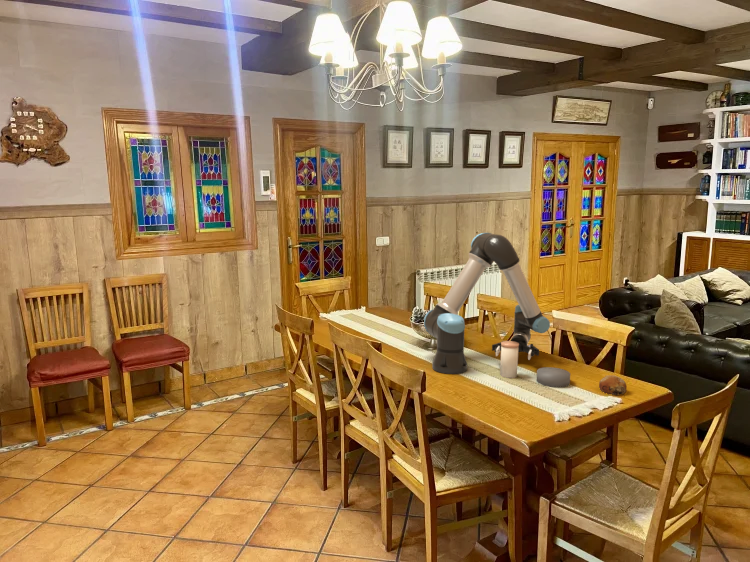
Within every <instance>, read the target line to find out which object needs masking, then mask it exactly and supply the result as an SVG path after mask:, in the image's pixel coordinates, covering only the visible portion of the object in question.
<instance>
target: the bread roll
mask: <svg viewBox="0 0 750 562" xmlns="http://www.w3.org/2000/svg"><path fill="white" fill-rule="evenodd" d="M599 388H600V389H599ZM598 389H599V391H600V390H601V391H602V392H601V391H600V392H601V393H603V392H604V393H603V394H606V393H607V395H609V394H612V396H621V395H620V394H622V395H624V394H625V393H626V392H627V390H628V389H627V383H626V382H625V380H624V379H623V378H621V377H620V376H617V375H605V376H604V377H602V379H600V380H599V383H598Z"/></svg>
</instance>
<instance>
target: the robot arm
mask: <svg viewBox="0 0 750 562" xmlns="http://www.w3.org/2000/svg"><path fill="white" fill-rule="evenodd" d="M520 261H521V260H520V258H519V256H518V254H517V252H516V249H515V247H514V246H513V244H512V242H511V241H510V240H509V239H508V238H507V237H505V236H504V235H501V234H495V233H491V232H482V233H479V234H476V235H475V236H474V237H473V238H472V240H471V242H470V250H469V252H468V260H467V262H466V263H465V265H464V266H463V268H462V270H461V271H460V273H459V274H458V276H457V278H456V279H455V281H454V282H453V284H452V285H451V287H450V289H449V291H447V294H446V295H445V297H444V298H443V300H442V301H441V302H438V303H436V305H435V307H434V308H433V309H431V310H429V311H427V312H426V314H425V316H424V318H423V320H424V327H425V329H426V331H425V332H427V333H428V335H430V336H432V337H433V338H435V339H436V352H435V354H434V358H433V360H432V363H431V364H432V365H431V367H432V370H434V371H435V372H437V373H441V374H452V375H454V374H463V373H465V372H467V371H468V361H467V359H466V356H465V349H464V348H465V347H464V346H465V329H466V325H465V318H463V317H462V316H461V315H459V311H460V309H461V308H462V306H463V305H464V304H465V301H466V300H467V298H468V297H469V295H470V294H471V292H472V291H473V289H474V287H475V286H476V284H477V282H478V281H479V279H480V278H481V276H482V274H483V273H484V272H485V270H486V269H487V268H488V269H489V268H491V266H492V265H493V263H495V264H496V266H497V268H498V270H500V271H502V272H503V274H504V277H505V279H506V280H507V283H508V285H509V287H510V289H511V291H512V293H513V295H514V298H515V299H516V302H517V304H516V305H515V308H514V322H513V323H514V324H513V325H514V326H513V336H512V337H511V339H510V341H514V342H517V343H519V347H518V353H526V354H528V355H527V359H528V361H530V360H531V358H532V357H534V356H537V357H538V356H540V349H539V348H538V347H536V346H535V345H534V343H531V344H529V342H530V340H531V334H532V333H531V330H532V331H533V332H535V333H538V334H544V333H547V332H548V330H549V329H550V326H551V322H550V320H549V319H548V318H547V316H546V317H545V316H544V315H543V313H542V311H541V309H540V307H539V304H538V302H537V300H536V298H535V296H534V294H533V291H532V289H531V287H530V285H529V283H528V280H527V279H526V277H525V274H524V272H523V270H522V268H521V265H520ZM503 341H504V340H501V341H500V342H497V343H494V344H492V345H491V351H494V353H495V357H498V356H499V354H501V342H503ZM528 344H529V345H528ZM466 370H467V371H466Z"/></svg>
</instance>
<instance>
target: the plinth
mask: <svg viewBox="0 0 750 562" xmlns="http://www.w3.org/2000/svg"><path fill="white" fill-rule="evenodd" d="M536 382H537V383H538V384H540V385H543V386H546V387H550V388H565V387H568V386H569V384H570V383H571V372H570V371H567V370H565V369H563V368H558V367H549V366H547V367H540V368H538V369H537V370H536Z"/></svg>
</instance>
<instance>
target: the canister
mask: <svg viewBox="0 0 750 562" xmlns="http://www.w3.org/2000/svg"><path fill="white" fill-rule="evenodd" d="M502 341H503V342H502ZM502 341H500V342H501V351H500V363H499V364H500V367H499V369H500V370H499V376H500V375H501V376H500V377H501V378H502V377H503V378H505V377H506V379H507V378H508V379H514V378H517V377H518V364H519V352H518V347H519V343H517V342H514V341H511V340H502Z"/></svg>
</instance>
